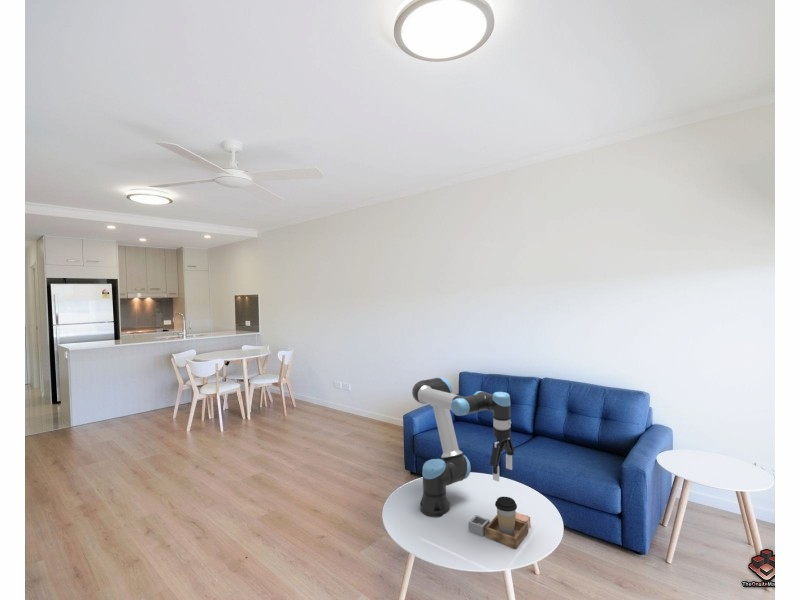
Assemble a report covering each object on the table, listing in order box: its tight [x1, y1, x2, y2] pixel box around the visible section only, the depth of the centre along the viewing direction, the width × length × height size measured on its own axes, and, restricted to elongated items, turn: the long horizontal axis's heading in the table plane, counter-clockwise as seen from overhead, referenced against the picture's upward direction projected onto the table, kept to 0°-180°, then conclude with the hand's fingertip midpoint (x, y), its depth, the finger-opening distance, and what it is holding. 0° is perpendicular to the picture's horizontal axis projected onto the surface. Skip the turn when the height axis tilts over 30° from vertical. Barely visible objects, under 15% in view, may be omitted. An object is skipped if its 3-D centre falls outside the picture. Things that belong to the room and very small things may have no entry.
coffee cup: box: [494, 496, 518, 537], centre depth 171 cm, size 9×9×15 cm
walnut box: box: [484, 515, 529, 550], centre depth 172 cm, size 14×14×5 cm
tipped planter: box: [515, 512, 531, 530], centre depth 178 cm, size 7×5×5 cm
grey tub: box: [468, 514, 491, 537], centre depth 176 cm, size 7×7×5 cm
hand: (502, 474), depth 173 cm, fingers open, 13 cm apart
